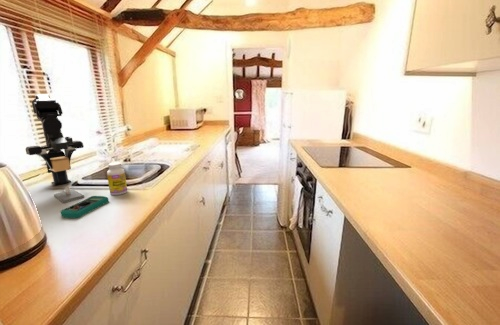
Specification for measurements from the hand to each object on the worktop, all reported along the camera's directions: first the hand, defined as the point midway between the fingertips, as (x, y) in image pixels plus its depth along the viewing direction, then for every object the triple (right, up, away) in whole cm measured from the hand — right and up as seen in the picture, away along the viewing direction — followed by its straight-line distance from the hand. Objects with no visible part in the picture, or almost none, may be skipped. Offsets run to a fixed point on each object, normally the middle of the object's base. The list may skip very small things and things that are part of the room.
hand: (60, 167), depth 108 cm
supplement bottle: (+25, -11, 0) cm, 28 cm away
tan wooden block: (0, -1, 0) cm, 1 cm away
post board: (+6, -12, -3) cm, 14 cm away
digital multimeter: (+21, -16, -15) cm, 30 cm away
